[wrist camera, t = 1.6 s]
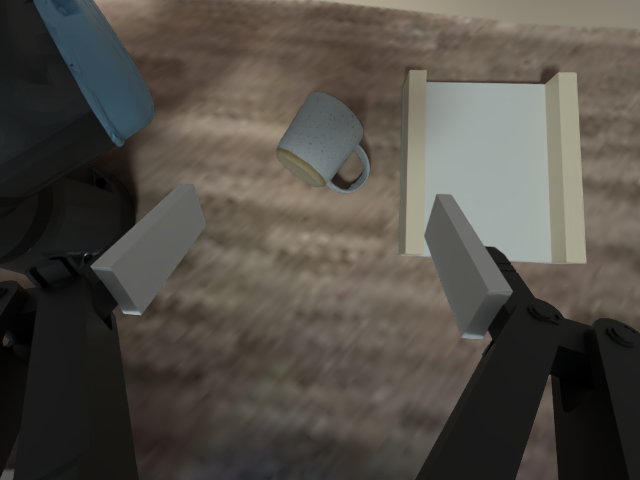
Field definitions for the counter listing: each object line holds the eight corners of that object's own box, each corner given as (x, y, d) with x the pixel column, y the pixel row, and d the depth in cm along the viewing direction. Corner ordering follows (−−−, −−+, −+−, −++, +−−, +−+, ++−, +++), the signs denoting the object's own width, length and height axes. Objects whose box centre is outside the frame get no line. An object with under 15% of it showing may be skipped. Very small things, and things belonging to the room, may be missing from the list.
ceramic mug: (277, 168, 35) (263, 140, 27) (312, 117, 36) (308, 76, 28) (346, 211, 34) (351, 195, 26) (381, 159, 35) (395, 128, 27)
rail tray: (398, 255, 33) (405, 253, 30) (402, 87, 35) (409, 70, 32) (561, 263, 32) (586, 263, 29) (553, 91, 34) (576, 72, 31)
